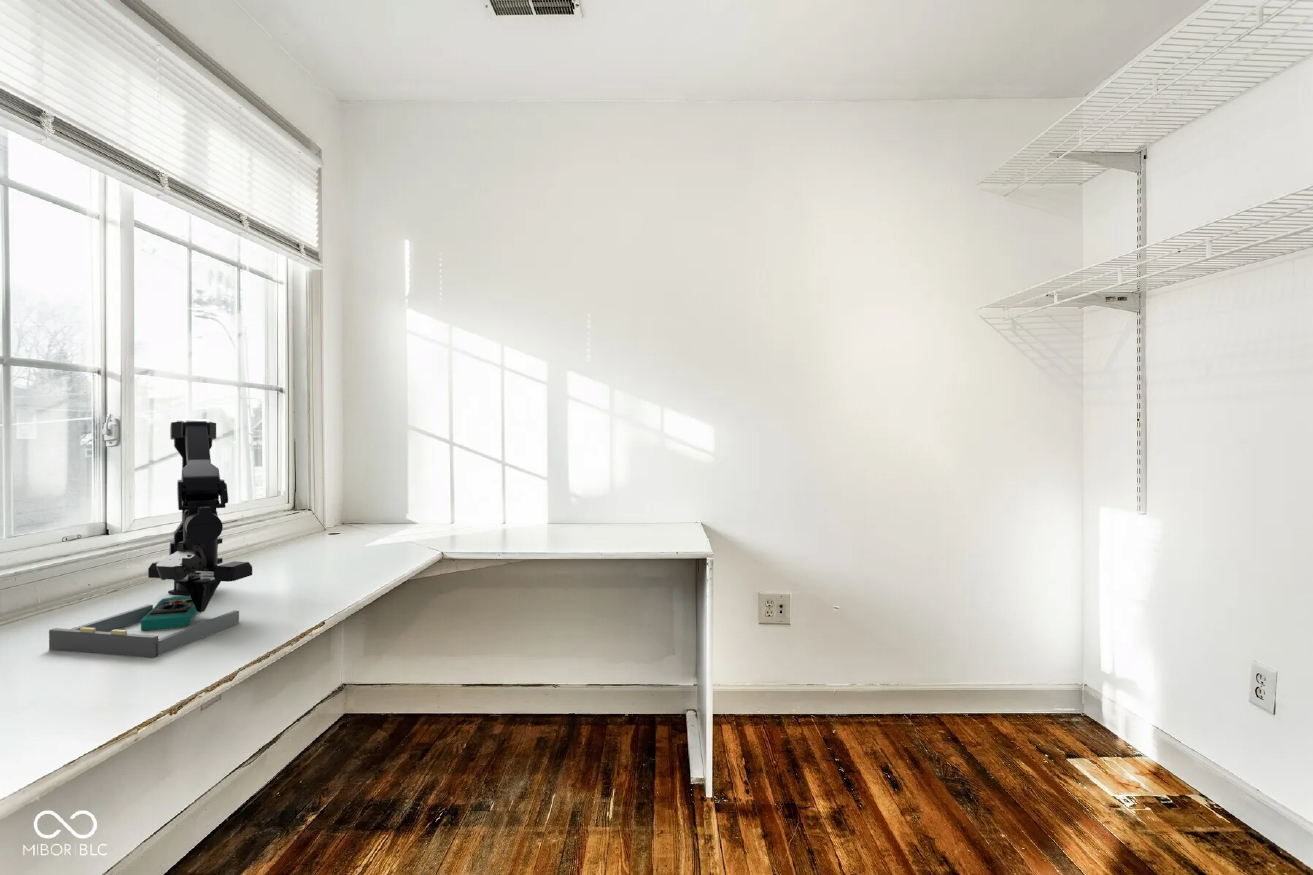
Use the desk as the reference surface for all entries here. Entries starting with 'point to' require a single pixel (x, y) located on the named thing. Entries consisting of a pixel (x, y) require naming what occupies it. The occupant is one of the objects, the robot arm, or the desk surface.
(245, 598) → the desk surface
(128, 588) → the desk surface
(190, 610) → the digital multimeter
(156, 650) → the frame
